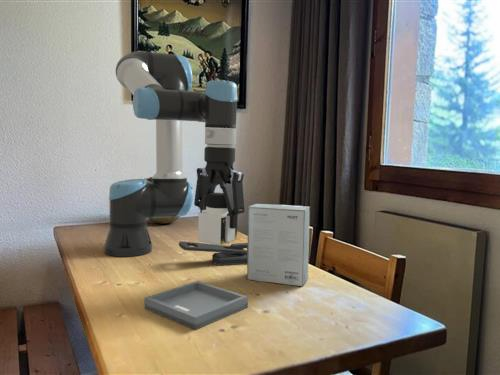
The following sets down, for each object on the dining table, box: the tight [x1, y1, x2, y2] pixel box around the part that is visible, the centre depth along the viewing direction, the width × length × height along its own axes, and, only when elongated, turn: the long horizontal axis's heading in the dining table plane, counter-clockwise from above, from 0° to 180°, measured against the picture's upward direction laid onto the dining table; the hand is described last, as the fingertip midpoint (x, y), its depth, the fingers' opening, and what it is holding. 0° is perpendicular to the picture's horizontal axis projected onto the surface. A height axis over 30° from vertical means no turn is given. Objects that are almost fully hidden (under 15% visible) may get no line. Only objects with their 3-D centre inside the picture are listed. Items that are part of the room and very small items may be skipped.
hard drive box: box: [246, 203, 311, 287], centre depth 118 cm, size 16×8×20 cm, turn 71°
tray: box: [144, 280, 249, 331], centre depth 97 cm, size 16×16×2 cm
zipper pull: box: [178, 240, 248, 266], centre depth 134 cm, size 9×7×25 cm
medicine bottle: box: [197, 192, 239, 245], centre depth 110 cm, size 7×7×12 cm
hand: (217, 237), depth 110 cm, fingers closed on medicine bottle, 7 cm apart
